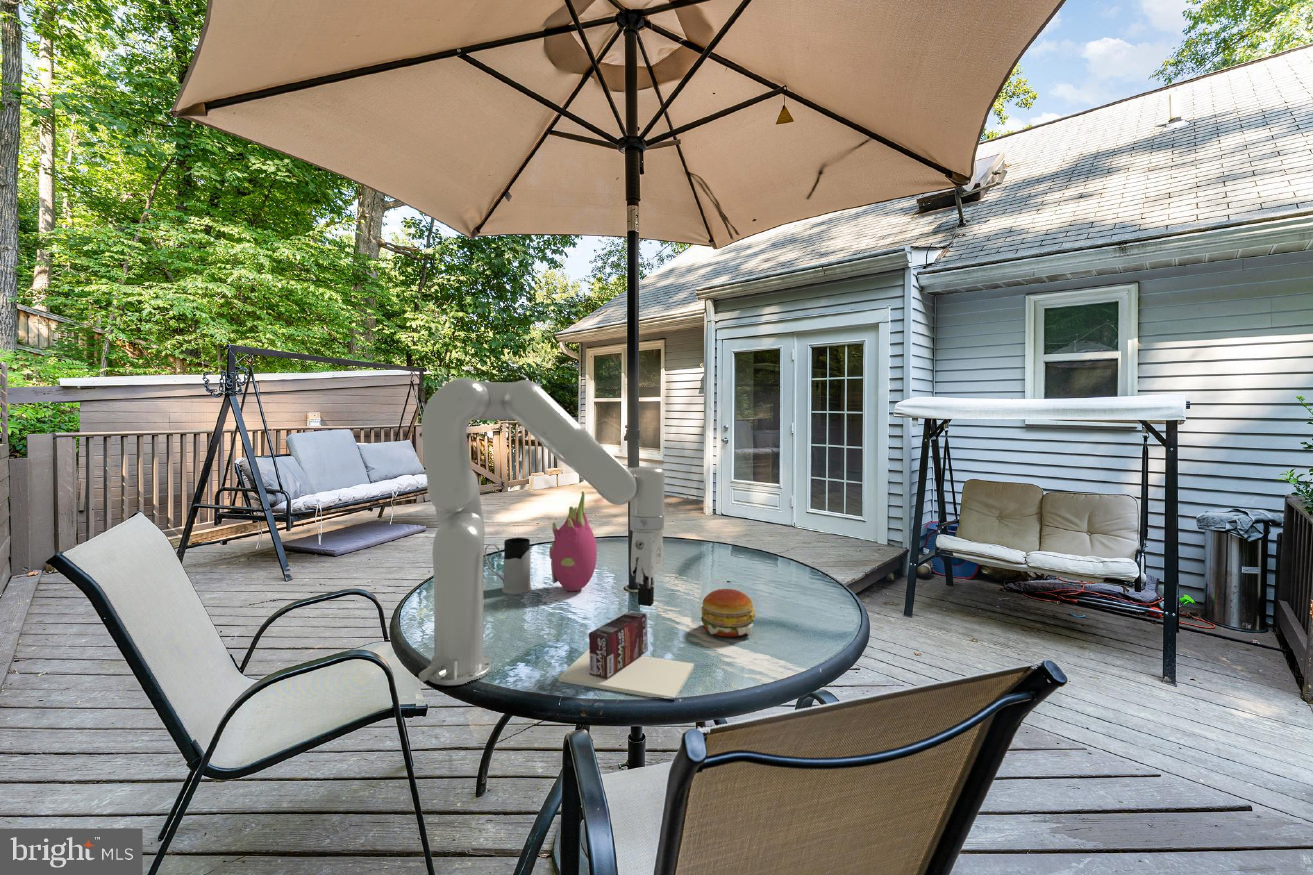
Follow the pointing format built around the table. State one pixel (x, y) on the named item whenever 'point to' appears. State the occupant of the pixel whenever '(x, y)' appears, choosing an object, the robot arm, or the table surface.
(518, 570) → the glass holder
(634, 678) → the placemat
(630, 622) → the supplement box
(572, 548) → the pink dragon fruit
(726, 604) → the burger
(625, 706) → the table surface
